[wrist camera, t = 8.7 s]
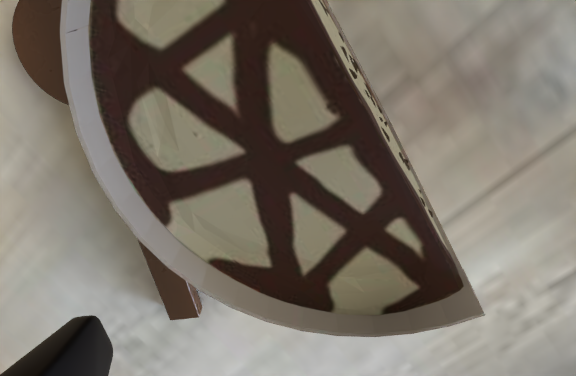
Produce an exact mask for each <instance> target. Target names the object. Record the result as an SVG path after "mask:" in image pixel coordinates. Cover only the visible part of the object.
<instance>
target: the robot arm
mask: <svg viewBox="0 0 576 376" xmlns="http://www.w3.org/2000/svg"><path fill="white" fill-rule="evenodd" d="M112 357H113V347H112V344H111V342H110V339H109V337H108V335H107V333H106V331H105V329H104V327H103V325H102V323H101V321H100V320H99V318H97V317H96V316H82V317H76V318H73V319H72V320H70V321H69V322H68V323H66V324H65V325H64V326H62V327H61V328H60V329H59V330H57V331H56V332H55V333H53V334H52V335H51V336H50V337H48V338H47V339H46V340H44V341H43V342H42V343H41V344H39V345H38V346H37V347H35V348H34V349H33V350H32V351H30V352H29V353H28V354H26V355H25V356H24V357H23V358H21V359H20V360H19V361H17V362H16V363H15V364H13V365H12V366H11V367H10V368H8V369H7V370H6V371H4V372H3V373H2V374H1V375H0V376H108V374H109V370H110V366H111V362H112Z"/></svg>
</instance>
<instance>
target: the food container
mask: <svg viewBox="0 0 576 376" xmlns="http://www.w3.org/2000/svg"><path fill="white" fill-rule="evenodd" d="M60 41H61V53H62V65H63V77H64V85H65V89H66V94H67V98H68V102H69V106H70V110H71V114H72V118H73V122H74V126H75V130H76V133H77V135H78V138H79V140H80V143H81V145H82V148H83V150H84V153H85V155H86V157H87V160H88V162H89V165H90V167H91V170H92V172H93V174H94V176H95V177H96V179H97V181H98V182H99V184H100V186H101V187H102V189H103V191H104V193H105V194H106V196H107V198H108V199H109V201H110V203H111V204H112V206H113V208H114V209H115V211H116V212H117V213H118V214H119V216H120V217H121V218H122V219H123V221H124V222H125V223H126V224H127V226H128V227H129V228H130V229H131V231H132V232H133V233H134V234H135V236H136V237H137V238H138V239H139V241H140V242H141V243H142V244H144V245H145V246H146V247H147V248H148V249H149V250H150V251H151V252H152V253H153V254H154V255H155V256H156V257H157V258H158V259H159V260H160V261H161V262H162V263H164V264H165V265H166V266H167V267H168V268H169V269H170V270H172V271H173V272H175V273H176V274H177V275H179V276H180V277H181V278H183V279H184V280H186V281H187V282H188V283H190V284H191V285H192V286H194V287H195V288H197V289H198V290H199V291H201V292H203V293H205V294H207V295H209V296H210V297H212V298H214V299H216V300H218V301H220V302H222V303H223V304H225V305H227V306H229V307H231V308H233V309H235V310H238V311H240V312H243V313H245V314H248V315H251V316H253V317H256V318H258V319H261V320H263V321H266V322H269V323H273V324H277V325H281V326H285V327H289V328H293V329H296V330H300V331H306V332H313V333H321V334H328V335H335V336H361V337H379V336H391V335H402V334H413V333H418V332H423V331H428V330H433V329H438V328H443V327H448V326H452V325H455V324H458V323H462V322H465V321H468V320H471V319H475V318H478V317H481V316H484V315H485V314H484V312H483V310H482V308H481V306H480V304H479V301H478V299H477V297H476V295H475V292H474V290H473V288H472V286H471V284H470V282H469V280H468V278H467V276H466V274H465V272H464V270H463V269H462V267H461V265H460V263H459V261H458V259H457V257H456V255H455V253H454V251H453V248H452V246H451V244H450V242H449V240H448V238H447V236H446V234H445V232H444V230H443V228H442V226H441V224H440V222H439V220H438V218H437V216H436V214H435V212H434V210H433V208H432V206H431V204H430V202H429V200H428V198H427V196H426V194H425V191H424V189H423V187H422V185H421V183H420V181H419V179H418V177H417V175H416V173H415V171H414V169H413V167H412V165H411V163H410V161H409V159H408V157H407V155H406V153H405V151H404V149H403V147H402V145H401V143H400V141H399V139H398V137H397V134H396V132H395V130H394V128H393V126H392V124H391V122H390V121H389V119H388V117H387V115H386V113H385V111H384V109H383V107H382V105H381V103H380V101H379V100H378V98H377V96H376V94H375V92H374V90H373V88H372V86H371V84H370V82H369V81H368V79H367V77H366V75H365V73H364V71H363V69H362V67H361V65H360V63H359V61H358V60H357V58H356V56H355V54H354V52H353V50H352V48H351V46H350V44H349V42H348V41H347V39H346V37H345V35H344V33H343V31H342V29H341V27H340V25H339V23H338V21H337V20H336V18H335V16H334V14H333V12H332V10H331V8H330V6H329V4H328V2H327V1H326V0H62V7H61V21H60Z"/></svg>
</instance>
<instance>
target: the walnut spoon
mask: <svg viewBox="0 0 576 376" xmlns="http://www.w3.org/2000/svg"><path fill="white" fill-rule="evenodd" d="M61 7H62V0H19V2H18V4H17V6H16V9H15V12H14V16H13V23H12V33H13V41H14V45H15V49H16V52H17V54H18V57H19V59H20V61H21V63H22V65H23V67H24V68H25V70H26V71H27V73H28V74H29V76H30V77H31V78H32V79H33V80H34V82H35V83H36V84H37V85H38V86H39V87H40V88H41V89H43V90H44V91H45V92H46V93H48V94H49V95H51V96H52V97H53V98H55V99H57V100H59V101H61V102H63V103H65V104H68V105H69V102H68V98H67V94H66V89H65V85H64V77H63V65H62V53H61V41H60V21H61ZM137 239H138V238H137ZM138 241H139V239H138ZM139 244H140V246H141V249H142V251H143V254H144V256H145V259H146V261H147V264H148V266H149V269H150V271H151V273H152V276H153V278H154V281H155V283H156V286H157V288H158V291H159V293H160V296H161V298H162V301H163V303H164V305H165V308H166V310H167V313H168V315H169V318H170V320H178V319H187V318H197V317H199V316H200V313H201V309H202V305H201V302H200V299H199V296H198V293H197V291H196V288H195V287H194V286H192V285H191V284H190V283H188V282H187V281H186V280H184V279H183V278H181V277H180V276H179V275H177V274H176V273H175V272H173V271H172V270H170V269H169V268H168V267H167V266H166V265H165V264H164V263H162V262H161V261H160V260H159V259H158V258H157V257H156V256H155V255H154V254H153V253H152V252H151V251H150V250H149V249H148V248H147V247H146V246H145V245H144V244H142V243H141V242H140V241H139Z"/></svg>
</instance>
